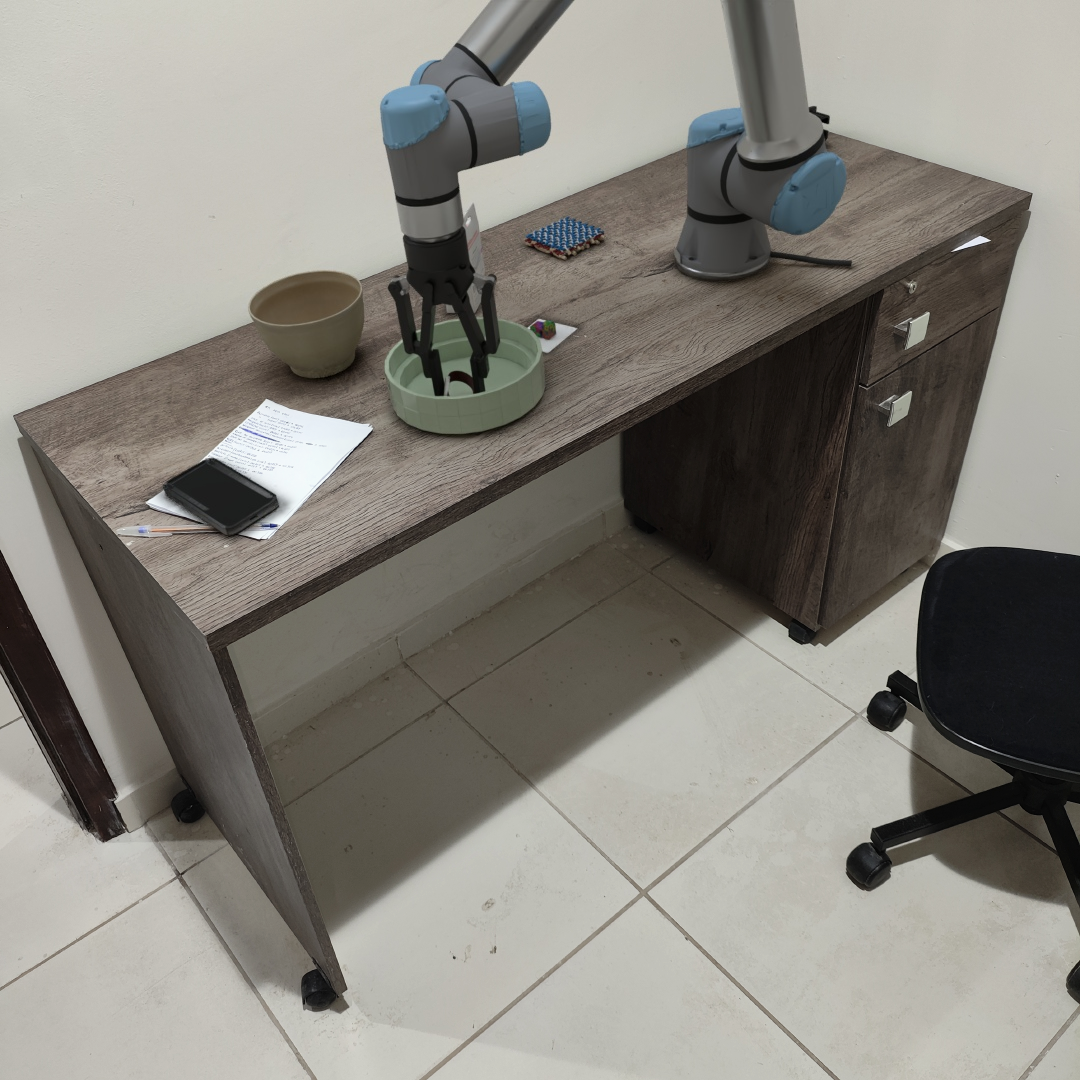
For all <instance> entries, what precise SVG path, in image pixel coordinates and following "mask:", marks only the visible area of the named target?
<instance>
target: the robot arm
mask: <svg viewBox="0 0 1080 1080" xmlns="http://www.w3.org/2000/svg"><path fill="white" fill-rule="evenodd" d="M574 2H575V0H489V2H488V3H487V4H486V5H485V7H484V8H483V9H482V10H481V12H479V14H478V16H477V17H475V19H474V20H473V22H471V24H470V25H469V26H468V28H467V29H466V30H465V31H464V32H463V34H462V35H461V36H460V38H459V39H457V41H456V42H455V44H453V46H452V47H451V48H450V50H449V51H448V52H447V53H446V54H445V55H444V56H443V58H442V59H441V58H440V59H432V60H431V59H430V60H428V61H425V62H423V63H421V64H420V65H419V66H418V67H417V68H416V69H415V71H414V72H413V74H412V76H411V78H410V81H409V85H407V86H401V87H398V88H395V89H393V90H391V91H389V92H387V93H386V94H385V95H384V96H383V97H382V99H381V101H380V105H379V112H380V125H381V130H382V142H383V145H384V147H385V153H386V156H387V157H386V158H387V161H388V167H389V172H390V176H391V182H392V185H393V186H392V187H393V191H394V197H395V205H396V210H397V215H398V219H399V220H398V221H399V226H400V232H401V233H402V234H403V235H402V243H403V248H404V253H405V257H406V263H407V272H406V274H404V275H401V276H400V275H398V274H395V275H394V276H393V277H392V279H391V280H390V282H389V283H388V285H387V290H388V292H389V294H390V295H391V298H392V299H393V300H394V303H395V308H396V309H395V310H396V313H397V314H396V315H397V319H398V324H399V329H400V334H401V340H403V345H404V350H405V352H406V353H407V354H412V353H413V354H416V355H418V356H419V357H420V358H421V362H422V367H423V372H424V376H425V377H426V378H432V384H433V389H434V395H435V396H443V394H444V378H443V372H442V366H441V361H440V355H439V349H433V350H432V346H433V344H434V343H433V333H434V324H435V323H436V322H435V321H436V310H437V306H440V305H445V306H446V305H452V307H453V309H454V312H455V313H454V314H456V315H457V317H458V319H459V320H460V322H461V324H462V327H463V329H464V331H465V334H466V336H467V338H468V341H469V343H470V346H471V348H472V350H473V353H472V355H471V358H470V366H471V372H472V379H473V385H474V392H475V394H478V393H481V392H485V384H484V378H487V376H488V373H489V370H490V368H489V361H488V354H495V353H496V352H497V350H498V347H499V344H500V334H499V327H498V319H499V318H498V314H497V313H498V312H497V305H496V298H495V288H496V285H497V280H498V277H497V275H496V274H495V273H489V274H487V275H486V276H485V275H482V274H478V273H476V272H475V269H474V268H473V266H472V265H471V263H470V259H469V251H468V244H467V237H466V230H465V228H464V227H463V223H464V217H463V216H464V211H463V204H462V195H461V190H460V182H459V181H460V180H459V173H460V172H462V171H467V170H470V169H471V170H472V169H473V168H477V167H482V166H485V165H488V164H493V163H496V162H499V161H504V160H506V159H510V158H515V157H518V156H519V157H522V156H524V155H525V154H528V153H530V152H532V151H533V152H534V151H536V150H538V149H540V148H542V147H544V146H545V145H546V144H547V143H548V141H549V138H550V136H551V132H552V117H551V110H550V106H549V102H548V100H547V97H546V95H545V94H544V91H543V90H542V88H541V87H540V86H539V85H538V84H537V83H535V82H534V81H531V80H525V81H518V82H515V81H511V82H510V83H508V84H507V82H508V81H509V80H510V78H511V77H512V76H513V75H514V73H515V72H517V70H518V69H519V68H520V67H521V65H522V64H523V63H524V62H525V60H526V59H527V58H528V57H529V55H530V54H531V53H532V52H533V51H534V50H535V49H536V47H537V46H538V45H539V44H540V43H541V41H542V40H543V39H544V38H545V37H546V35H547V34H548V33H549V32H550V31H551V29H552V28H553V27H554V26H555V25H556V23H557V22H558V21H559V20H560V19H561V18H562V16H563V15H564V14H565V13H566V12H567V10H568V9H569V7H570V6H571V5H572V4H573V3H574ZM795 3H796V2H795V0H720V4H721V5H720V6H721V10H722V16H723V21H724V27H725V32H726V38H727V43H728V47H729V53H730V59H731V64H732V69H733V76H734V80H735V85H736V90H737V96H738V101H739V107H729V108H723V109H718V110H713V111H710V112H707V113H703V114H701V115H700V116H697V117H696V118H694V119H693V120H692V121H691V123H690V125H689V127H688V132H687V144H686V153H687V154H686V217H685V220H684V223H683V226H682V229H681V232H680V234H679V238H678V241H677V244H676V247H675V246H674V247H673V254H674V257H675V258H674V260H675V261H674V263H675V266H676V268H677V269H678V270H679V271H680V272H681V273H683V274H684V275H686V276H688V277H691V278H694V279H697V280H700V281H701V280H702V281H709V282H734V281H739V280H744V279H748V278H751V277H754V276H756V275H759V274H760V273H762V272H764V271H765V270H766V269H767V268H768V267H770V264H771V261H772V260H771V259H773V258H774V259H780V260H788V261H795V262H800V263H806V264H811V265H818V266H829V267H851V268H852V265H853V264H852V263H853V260H852V259H850V260H849V259H827V258H821V257H813V256H807V255H801V254H795V253H787V252H780V251H773V250H772V246H771V242H770V238H769V235H768V231H767V227H766V226H768V227H770V228H772V229H773V230H775V231H777V232H783V233H785V234H788V235H792V236H802V235H806V234H809V233H812V232H813V231H815V230H816V229H818V228H819V227H820V226H822V225H823V224H824V223H825V222H826V221H827V220H828V219H829V218H830V217H831V216H832V214H833V213H834V212H835V210H836V208H837V205H839V203H840V201H841V199H842V197H843V195H844V192H845V189H846V184H847V177H848V175H847V166H846V164H845V162H844V161H843V159H842V157H839V155H838V154H837V153H835V152H833V151H828V150H827V146H826V145H827V144H826V145H825V143H826V141H825V138H824V130H823V129H824V124H823V123H822V121H821V120H820V119H819V118H818V117H817V116H816V115H814V114H812V113H810V112H809V107H810V106H809V100H808V94H807V86H806V79H805V71H804V63H803V56H802V49H801V41H800V33H799V26H798V19H797V11H796V5H795ZM472 283H474V284H475V285H476V287H477V292H478V293H479V294H482V295H481V302H480V306H481V313H482V317H483V321H484V328H485V335H486V340H485V338H484V336H483V333H482V331H481V328H480V326H479V323H478V321H477V319H476V317H477V316H476V313H474V311H473V309H472V306H471V304H470V299H469V295H468V293H467V291H468V289H469V288H470V286H471V284H472ZM411 288H413V290H414V291H415V292H416V293H417V294H418V295H419V296H420V297H421V298H422V299H421V322H420V323H421V324H420V325H421V326H420V329H421V334H420V341H418V337H417V332H416V331H417V327H416V322H415V316H414V312H413V311H414V310H413V305H412V300H411V295H410V291H411V290H410V289H411ZM497 318H498V319H497Z"/></svg>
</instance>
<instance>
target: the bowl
mask: <svg viewBox="0 0 1080 1080" xmlns="http://www.w3.org/2000/svg"><path fill="white" fill-rule="evenodd" d="M476 319H477V321H478V323H479V326H480V328H481V331H482V333H483V336H484V338H485V340H486V335H485V328H484V321H483V316H476ZM497 319H498V327H499V334H500V344H499V347H498V350H497V352H496V353H495V354H488V361H489V368H490V370H489V373H488V376H487V378H484V384H485V392H481V393H478V394H473V391H472V389H471V388H470V387H469V386H468V385H467V384H465V383H463V382H460V381H453V382H451V383H450V384H449V395H450V396H435V395H434V389H433V384H432V378H426V377H425V376H424V372H423V367H422V362H421V358H420V357H419V356H418V355H416V354H413V353H412V354H407V353H406V352H405V350H404V345H403V340H402V339H400V340H399V341H398V342H397V343H396V344H395V345H394V346H393V347H392V348H391V349H390V350H389V352H388V354H387V356H386V357H385V359H384V377H385V380H386V384H387V385H386V386H387V389H388V393H389V398H390V402H391V403H390V404H391V406H392V408H393V410H394V412H395V414H396V416H398V417H399V418H400V419H401V420H402V421H403V422H404V423H406V424H408V425H409V426H412V427H414V428H417V429H419V430H422V431H426V432H430V433H436V434H442V435H443V434H446V435H448V434H449V435H464V434H471V433H479V432H485V431H488V430H491V429H495V428H498V427H502V426H505V425H507V424H509V423H512V422H514V421H515V420H517V419H520V418H521V417H523V416H524V415H525V414H527V413H528V412H530V411H531V410H532V409H533V408H535V407H536V405H537V404H538V403H539V402H540V400H541V399H542V397H543V396H544V393H545V388H546V385H547V384H546V383H547V381H546V373H545V362H544V352H543V351H542V346H541V342H540V339H539V338H538V337H537V336H536V335H535V333H534V332H533V331H531V330H530V329H528V327H526V326H525V325H523V324H521V323H518V322H515V321H512V320H509V319H506V318H505V319H504V318H498V317H497ZM416 332H417V337H418V341H420V334H421V328H420V329H416ZM433 343H434V344H433V346H432V350H433V349H439V355H440V361H441V366H442V372H443V378H444V384H445V378H446V377H448V375H449V373H450V372H452V371H456V370H457V371H463V372H465V373H467V374H469V375H470V376H471V377H472V372H471V366H470V358H471V355H472V353H473V350H472V348H471V346H470V343H469V341H468V338H467V336H466V334H465V331H464V329H463V327H462V324H461V322H460V320H459V318H454V319H453V318H452V319H448V320H444V321H440V322H435V323H434V333H433Z"/></svg>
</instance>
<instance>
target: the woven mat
mask: <svg viewBox="0 0 1080 1080" xmlns="http://www.w3.org/2000/svg"><path fill="white" fill-rule="evenodd" d="M576 220H577V219H576V218H570V216H566V217H565V218H559V219H558V220H557V222H555V221H552V223H551V224H546V226H543V227H539V229H537V230H533V232H531V233H528V234H527V235H526V236H525V238H526V239H524V242H525V245H526V246H529V247H535V249H536V250H538V251H539V252H542V253H546V254H551V255H553V256H555V257H556V258H558V259H561V260H563V261H566V260H567V259H568V257H567V256H570V255H573V256H577V252H580V251H584V250H585V249H590V245H594V244H595V245H596V246H597V245H599V244H601V242H600V241H603V240H604V239H605V231H604V230H603V229H602V228H601V227H595V226H596V225H589V223H587V222H585V223H583V221H582V220H579V221H576Z"/></svg>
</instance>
